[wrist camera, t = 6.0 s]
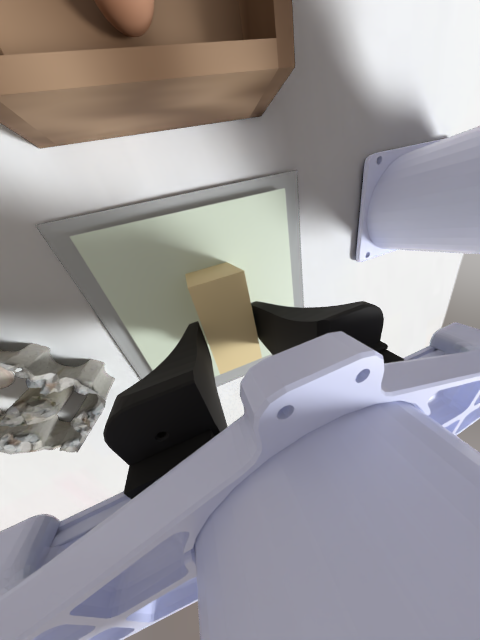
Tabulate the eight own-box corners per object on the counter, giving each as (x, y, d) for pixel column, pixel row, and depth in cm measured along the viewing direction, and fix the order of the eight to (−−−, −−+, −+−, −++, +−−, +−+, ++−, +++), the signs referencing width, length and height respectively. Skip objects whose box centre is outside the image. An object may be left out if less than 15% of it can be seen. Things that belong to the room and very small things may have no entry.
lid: (279, 190, 12) (326, 168, 8) (292, 339, 18) (323, 367, 15) (76, 236, 10) (10, 235, 6) (168, 388, 16) (165, 437, 12)
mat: (293, 171, 13) (296, 170, 12) (303, 347, 20) (306, 349, 20) (40, 225, 10) (35, 225, 9) (162, 406, 17) (162, 409, 17)
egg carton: (-108, 396, 11) (-244, 471, 8) (-69, 300, 10) (-210, 333, 6) (88, 428, 16) (61, 481, 12) (129, 366, 15) (112, 405, 11)
